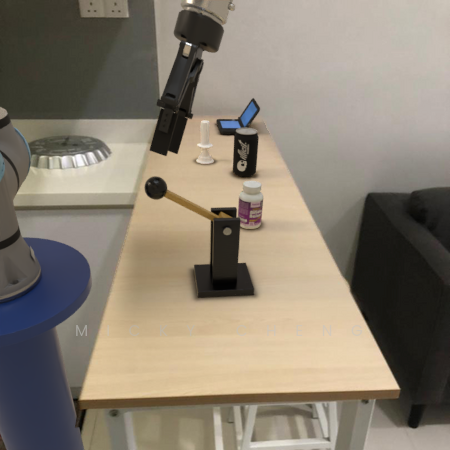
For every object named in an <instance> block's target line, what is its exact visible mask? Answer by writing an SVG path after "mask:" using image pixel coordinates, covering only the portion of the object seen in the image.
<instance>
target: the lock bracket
mask: <svg viewBox="0 0 450 450" xmlns="http://www.w3.org/2000/svg"><path fill="white" fill-rule="evenodd" d="M210 212H212V213H214V214H216V215H219V214H220V212H223V213H225V214H227V215H229V216H231V217H233V218H213V221H211V220H210V226H209V228H210V230H209V231H210V232H209V233H210V235H209V236H210V237H209V263H203V264H202V263H200V264H193V274H194V280H195V287H196V288H195V289H196V294H197V298H218V297H237V296H254V295H255V287H254V284H253V281H252V278H251V275H250V272H249V268H248V265H247V262H239V257H240V255H239V254H240V240H241V239H240V237H241V227H240V222H241V220H240V217H238V207H236V206H226V207H225V206H224V207H223V206H221V207H210Z"/></svg>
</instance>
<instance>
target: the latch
mask: <svg viewBox="0 0 450 450" xmlns="http://www.w3.org/2000/svg"><path fill="white" fill-rule="evenodd" d="M143 190H144V193H145V194H146V196H147V197H148V198H149V199H151V200H155V201H158V200H161V199H163V198H166V199H167V200H169V201H170V202H171V201H172V202H173V203H175V204H178V205H180V206H182V207H183V208H185V209H187V210H189V211H192V212H193V213H195V214H196V215H199V216H201V217H203V218H205V219H207V220H209V221H210V222H211V221H213V218H233V217H231V216H229V215H227V214H225V213H223V212H220V214H219V215H216V214H214V213H212V212H211V210H208V209H207V208H204V207H202V206H200V205H198V204H196V203H195V202H193V201H192V200H191V201H190V200H189V199H187V198H185V197H184V196H181V195H179V194H177V193H176V192H173V191H171V190H170V189H168V185H167V182H166V181H165V179H164V178H162V177H160V176H155V175H154V176H150V177H149V178H148V179H147V180H146V181H145V183H144V187H143Z"/></svg>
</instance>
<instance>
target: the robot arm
mask: <svg viewBox="0 0 450 450" xmlns="http://www.w3.org/2000/svg"><path fill="white" fill-rule="evenodd" d="M233 2H234V0H181V1H180V7H181V8H182V9H181V10H180V11H178V14H177V18H176V21H175V25H174V28H173V36H174V37H175V38H176V39H177V40H178V41H180V42H179V43H178V45H179V46H178V50H177V53H176V56H175V58H174V62H173V64H172V67H171V69H170V72H169V76H168V77H167V79H166V84H165V86H164V88H163V91H162V94H161V96H160V98H158V99H157V101H156V107H159V108H160V109H159V113H158V117H157V120H156V125H155V128H154V132H153V136H152V139H151V143H150V146H149V151H150V152H153V153H156V154H159V155H161V156H164V157H167V156H168V153H173V154H175V155H178V154H179V151H180V146H181V145H182V141H183V138H184V134H185V130H186V127H187V124H188V120H192V119H193V117H194V113H192V112H193V110H192V109H193V105H194V100H195V97H196V92H197V88H198V84H199V81H200V76H201V74H202V71H203V69H204V66H205V65H204V64H205V62H204V59H203V53H204V52H206V53H207V52H208V53H212V54H215V53H218V52H219V50H220V46H221V43H222V40H223V36H224V33H225V29H224V26H225V25H226V24H227V22H228V18H229V15H230V11H232V12H234V11H235V10H236V4H235V3H233ZM31 163H32V153H31V149H30V145H29V143H28V141H27V139H26V138H25V136H24V135H23V134H22V132H21V131H20V130H19V129H18V128H17V127H14V125H13V123H12V120H11V117H10V115H9V113H8V111H7V109H5V108H4V107H2V106H0V304H2V303H6V302H9V301H12V300H15V299H17V298H20V297H22V296H23V295H25V294H27V293H29V292H30V291H31V290H33V289H34V288H35V287H36V286H37V285H38V283H39V282H40V280H41V277H42V272H41V267H40V264H39V262H38V260H37V258H36V257H35V255H34V251H33V249H32V248H31V246H30V248H29V246H28V245H27V243H26V242H25V240H24V239H23V235H22V233H21V228H20V225H19V224H20V223H19V221H18V217H17V211H16V207H15V205H14V201H15V198H16V196H17V194H18V192H19V191H20V189H21V187H22V185H23V183H24V182H25V181H26V179H27V177H28V176H29V174H30V169H31Z"/></svg>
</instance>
